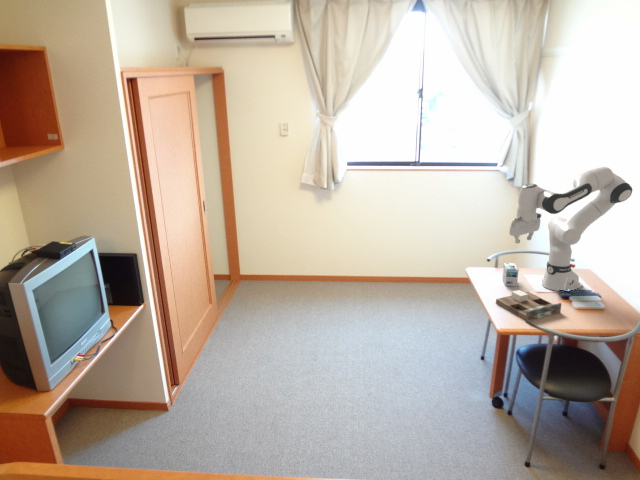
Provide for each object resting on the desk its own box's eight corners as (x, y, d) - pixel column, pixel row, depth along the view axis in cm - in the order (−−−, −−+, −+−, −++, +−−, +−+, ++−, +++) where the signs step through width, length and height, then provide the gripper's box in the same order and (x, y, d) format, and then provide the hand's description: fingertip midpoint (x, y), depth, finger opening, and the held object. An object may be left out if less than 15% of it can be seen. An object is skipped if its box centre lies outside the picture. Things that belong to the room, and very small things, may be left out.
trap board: (527, 295, 262) (528, 287, 260) (560, 312, 242) (561, 303, 241) (495, 303, 254) (496, 294, 252) (527, 321, 235) (528, 312, 233)
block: (518, 295, 256) (519, 290, 255) (527, 300, 251) (527, 294, 250) (511, 297, 254) (512, 291, 253) (519, 302, 249) (520, 296, 248)
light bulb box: (517, 286, 273) (519, 269, 270) (504, 286, 275) (506, 268, 271) (513, 279, 283) (515, 262, 280) (501, 278, 285) (503, 262, 281)
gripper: (518, 220, 235) (515, 246, 239) (543, 214, 245) (540, 239, 249) (507, 217, 240) (505, 243, 244) (532, 211, 251) (529, 236, 255)
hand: (523, 241), depth 247 cm, fingers open, 8 cm apart
